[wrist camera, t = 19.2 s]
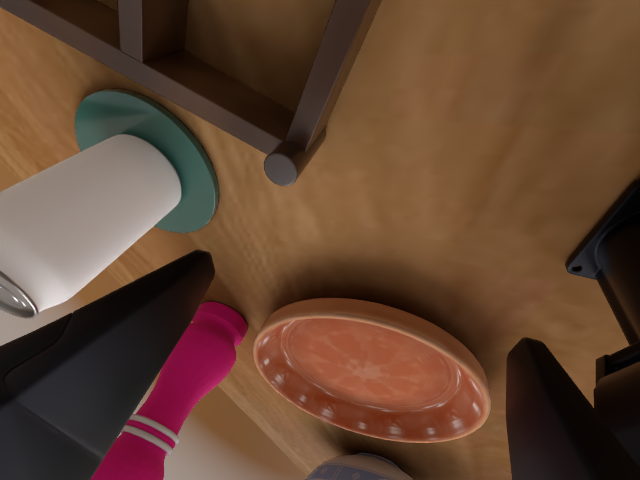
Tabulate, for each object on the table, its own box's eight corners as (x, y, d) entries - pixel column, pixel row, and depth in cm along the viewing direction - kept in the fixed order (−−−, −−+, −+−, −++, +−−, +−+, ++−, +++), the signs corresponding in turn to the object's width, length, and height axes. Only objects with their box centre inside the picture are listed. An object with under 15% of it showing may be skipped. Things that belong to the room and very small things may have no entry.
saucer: (412, 250, 22) (408, 288, 20) (523, 410, 31) (531, 452, 28) (228, 311, 35) (210, 339, 33) (342, 411, 44) (335, 440, 41)
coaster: (229, 242, 28) (225, 246, 27) (116, 212, 30) (111, 216, 29) (203, 102, 20) (197, 105, 19) (52, 76, 22) (44, 78, 21)
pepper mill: (251, 310, 34) (107, 562, 19) (253, 343, 39) (139, 564, 24) (192, 290, 35) (13, 515, 20) (201, 325, 40) (62, 527, 25)
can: (130, 201, 27) (-17, 308, 18) (94, 127, 23) (-118, 222, 14) (194, 212, 26) (67, 335, 17) (168, 136, 21) (-18, 248, 13)
